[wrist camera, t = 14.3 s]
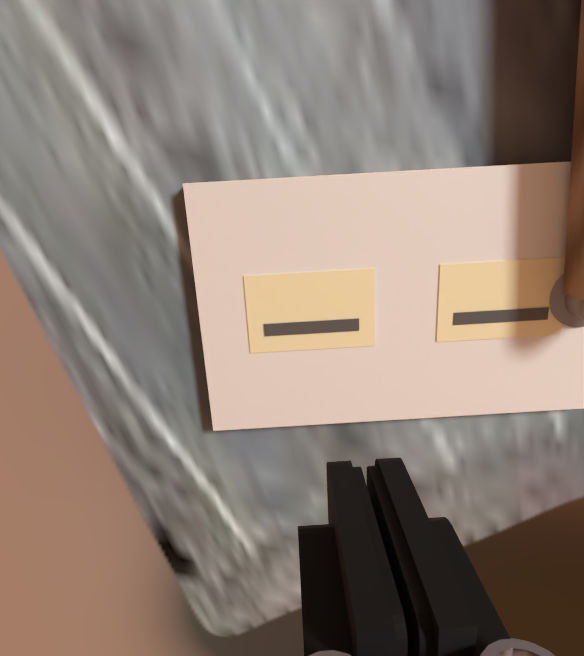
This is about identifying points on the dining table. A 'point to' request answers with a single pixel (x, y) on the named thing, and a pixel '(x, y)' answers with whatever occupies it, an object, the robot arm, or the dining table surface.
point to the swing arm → (576, 197)
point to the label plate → (385, 295)
